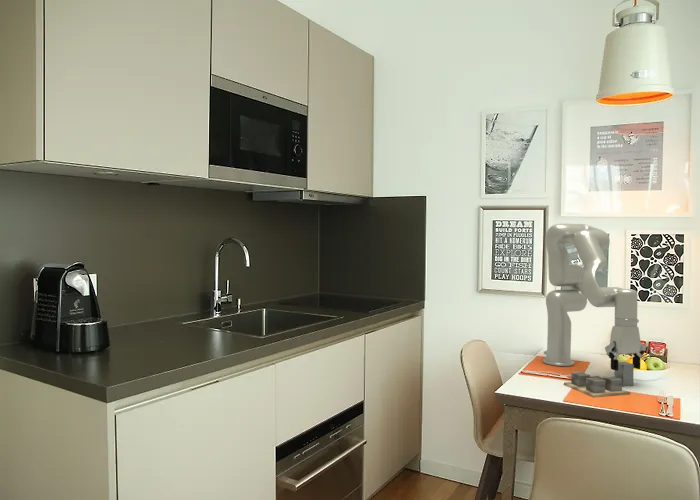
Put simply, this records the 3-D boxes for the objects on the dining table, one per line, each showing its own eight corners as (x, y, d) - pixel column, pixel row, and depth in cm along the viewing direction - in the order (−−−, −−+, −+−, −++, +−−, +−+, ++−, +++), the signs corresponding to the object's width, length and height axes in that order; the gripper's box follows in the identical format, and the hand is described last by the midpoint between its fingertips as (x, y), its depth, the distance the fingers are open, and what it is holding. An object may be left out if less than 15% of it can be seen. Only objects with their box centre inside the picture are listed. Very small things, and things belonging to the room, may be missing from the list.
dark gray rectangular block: (614, 383, 211) (615, 362, 211) (624, 382, 213) (624, 361, 212) (623, 386, 207) (623, 365, 207) (633, 385, 208) (633, 364, 208)
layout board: (563, 384, 209) (564, 371, 209) (598, 382, 213) (598, 369, 213) (593, 397, 193) (593, 383, 193) (630, 394, 197) (630, 380, 197)
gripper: (637, 320, 215) (637, 365, 215) (598, 322, 210) (598, 368, 210) (653, 323, 208) (652, 370, 208) (613, 325, 203) (613, 372, 203)
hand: (625, 369), depth 209 cm, fingers open, 9 cm apart
